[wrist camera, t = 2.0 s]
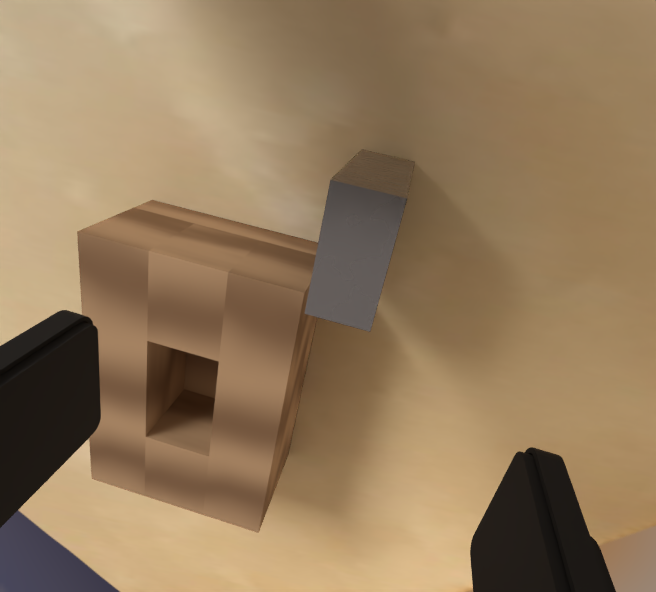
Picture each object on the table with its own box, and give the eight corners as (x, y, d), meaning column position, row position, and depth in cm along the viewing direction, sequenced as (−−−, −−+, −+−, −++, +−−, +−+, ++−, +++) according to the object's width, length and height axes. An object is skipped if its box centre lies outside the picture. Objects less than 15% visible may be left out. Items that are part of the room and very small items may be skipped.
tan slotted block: (152, 200, 29) (77, 231, 23) (332, 246, 28) (304, 292, 22) (147, 412, 37) (91, 478, 31) (287, 455, 36) (258, 532, 30)
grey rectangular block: (361, 149, 26) (330, 179, 18) (414, 161, 25) (407, 198, 17) (339, 248, 28) (304, 313, 20) (387, 260, 28) (370, 331, 20)
